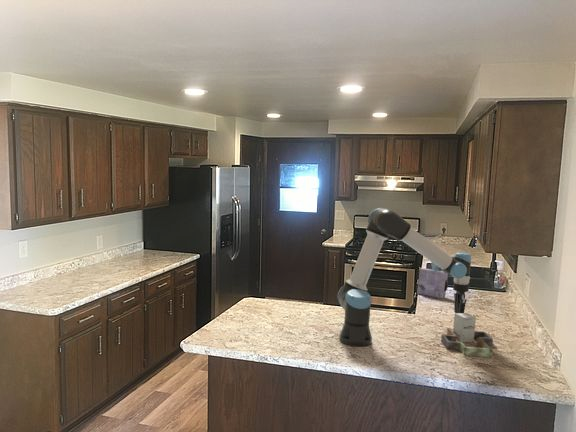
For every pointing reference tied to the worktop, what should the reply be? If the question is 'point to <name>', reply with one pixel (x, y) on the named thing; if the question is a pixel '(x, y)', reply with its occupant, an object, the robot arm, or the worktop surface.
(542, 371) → the worktop surface
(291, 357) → the worktop surface
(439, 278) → the cake pan box
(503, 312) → the worktop surface
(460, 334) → the supplement box
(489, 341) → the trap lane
